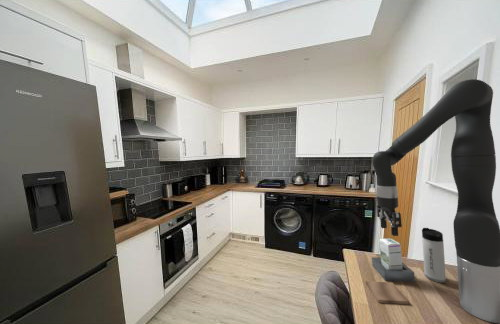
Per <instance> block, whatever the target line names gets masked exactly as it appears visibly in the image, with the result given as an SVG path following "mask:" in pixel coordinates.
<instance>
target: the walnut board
mask: <svg viewBox="0 0 500 324" xmlns="http://www.w3.org/2000/svg"><path fill="white" fill-rule="evenodd" d="M365 285H366V286H367V288H368V290H370V292H371V293H372V296H373V297H374V298H375V299H376V301H377V303H383V304H384V303H385V304H397V305H398V304H399V305H410V304H411V303H410V300H409V299H408V298H407V297H406V296H405V294H404V293H403V292H402V291H401V290H400V289H399V288H398V287H397V285H395V283H393V281H387V282H386V281H372V280H371V281H370V280H369V281H367V280H365Z"/></svg>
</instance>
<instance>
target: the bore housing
mask: <svg viewBox="0 0 500 324" xmlns="http://www.w3.org/2000/svg"><path fill="white" fill-rule="evenodd" d="M371 266H372V267H373V269H374V270H375V271H376V272H377V273H378V274H379V275H380V276H381V278H382V279H383V280H384V282H386V281H387V282H405V283H407V282H408V283H416V276H415V271H414V270H412V269H411V268H410V267H409V266H407V265H406V263H404V262H403V261H402V268H403V270H392V269H386V268H385V267H384V266H383V265H382V264H381V257H375V256H374V257H371Z"/></svg>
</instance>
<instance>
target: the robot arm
mask: <svg viewBox="0 0 500 324" xmlns="http://www.w3.org/2000/svg"><path fill="white" fill-rule="evenodd" d="M493 98H494V89H493V88H492V86H491V85H489V84H488V83H487V82H486V81H483V80H480V79H475V78H474V79H466V80H463V81H460V82H458V83H456V84H455V85H453V86H451V88H450V89H448V90H447V92H445V94H444V95H443V96H441V98H440V99H439V100H438V101H437V102H436V104H435V105H433V106H432V108H430V109H429V110H428V111H427V112H426V113H425V114H424V115H423V116H422V117H420V119H418V120H417V121H416V122H415V123H414V124H413V125H412V126H410V127H409V128H408V129H407V130H406V131H404V132H403V133H402V134H400V135H399V136H397V138H396V139H395V140H394V141H393V142H392V143H391V146H390V147H388V148H387V149H386V150H381V151H376V152H375V153H374V154H373V157H372V159H371V160H372V167H373V170H374V173H375V176H376V217H377V218H378V219H379V221H380V228H381V229H387V228H388V226H387V223H389V224H390V226H391V227H390V231H391V235H392V236H393V237H398V236H399V228H402V227H403V224H402V215H401V212H396V208H399V195H398V185H397V176H396V174H395V173H394V172H393V171H392V166H394V165H396V164H398V162H400V161H401V160H402V159H403V158H404V157H406V155H407V154H409V153H410V152H412V151H413V150H414V149H415V148H417V147H419V146H420V145H422V144H423V143H424V142H425V141H426V140H428V138H430V137H431V136H432V135H433V134H434V133H435V132H436V130H438V129H439V128H440V127H442V126H443V124H445V123H446V122H448V121H450V120H451V119H453V118H454V119H455V132H454V136H453V140H452V144H451V150H450V152H451V153H450V158H451V159H450V161H451V164H450V165H451V172H452V175H453V180H454V183H455V186H456V190H457V207H456V213H455V216H454V219H453V237H454V245H455V250H456V251H455V252H456V264H457V280H458V294H459V298H458V299H459V305H460V306H461V308H462V309H463V310H465V311H466V312H467V313H469V314H470V315H472V316H473V317H476V318H478V319H480V320H483V321H486V322H489V323H492V324H493V323H494V324H500V225H499V221H498V218H497V214H496V211H495V207H494V201H493V200H494V199H493V190H494V185H495V180H496V173H497V172H496V171H497V170H496V169H497V162H496V160H497V159H496V158H497V157H496V149H495V141H494V136H493V135H494V134H493V131H492V128H491V127H492V126H491V115H492V114H491V113H492V112H491V111H492V104H493Z"/></svg>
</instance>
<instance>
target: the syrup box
mask: <svg viewBox="0 0 500 324" xmlns="http://www.w3.org/2000/svg"><path fill="white" fill-rule="evenodd" d="M378 240H379V252H380V254H379V255H380V258H381V264H382V265H383V266H384V267H385V268H386V269H392V270H403V268H402V262H403V259H402V258H403V257H402V255H403V254H402V246H401V243H399V242H398V241H397V240H395V239H393V238H389V237H388V238H387V237H386V238H385V237H384V238H380V239H378Z"/></svg>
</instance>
